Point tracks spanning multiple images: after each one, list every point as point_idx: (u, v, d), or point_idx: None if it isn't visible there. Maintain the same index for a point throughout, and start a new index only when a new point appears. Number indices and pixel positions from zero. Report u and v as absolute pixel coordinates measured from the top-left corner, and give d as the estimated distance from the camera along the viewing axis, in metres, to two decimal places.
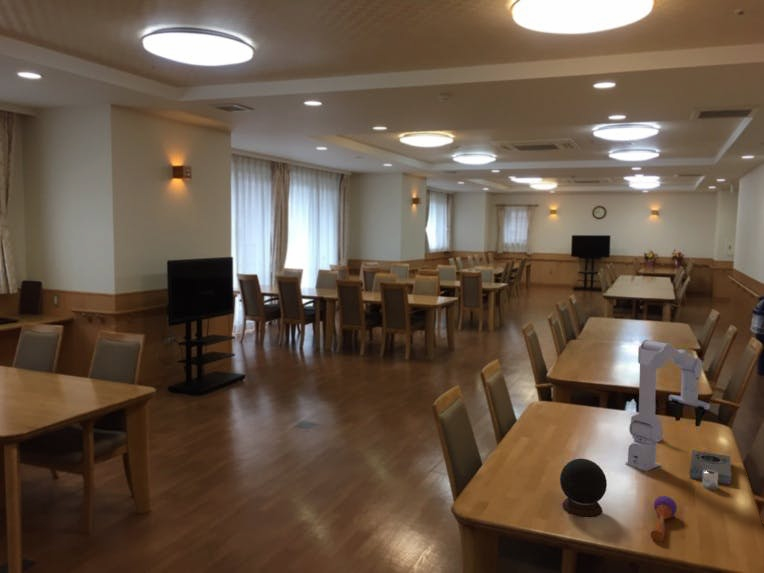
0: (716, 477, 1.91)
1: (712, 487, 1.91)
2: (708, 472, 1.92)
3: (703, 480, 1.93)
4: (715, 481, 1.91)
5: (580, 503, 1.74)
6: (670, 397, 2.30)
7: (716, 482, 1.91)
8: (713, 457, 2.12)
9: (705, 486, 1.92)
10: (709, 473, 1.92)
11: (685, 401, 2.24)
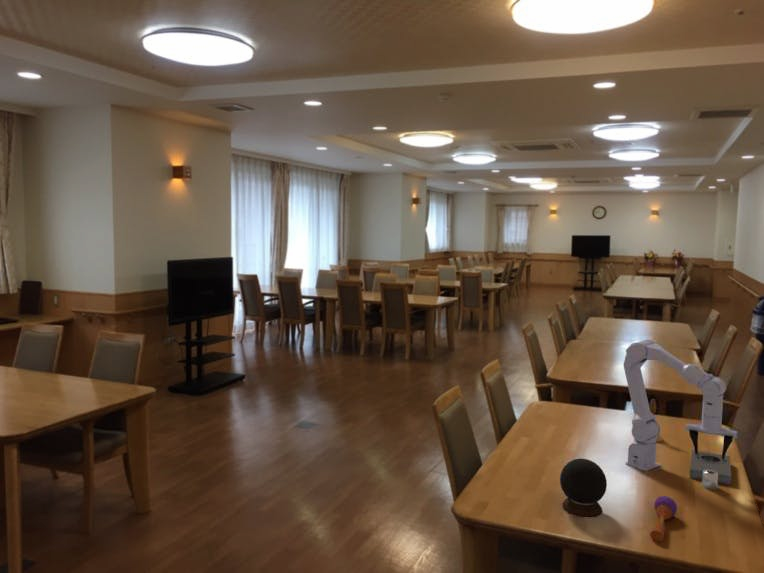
0: (716, 477, 1.91)
1: (712, 487, 1.91)
2: (708, 472, 1.92)
3: (703, 480, 1.93)
4: (715, 481, 1.91)
5: (580, 503, 1.74)
6: (688, 427, 1.97)
7: (716, 482, 1.91)
8: (713, 457, 2.12)
9: (705, 486, 1.92)
10: (709, 473, 1.92)
11: (711, 431, 1.92)
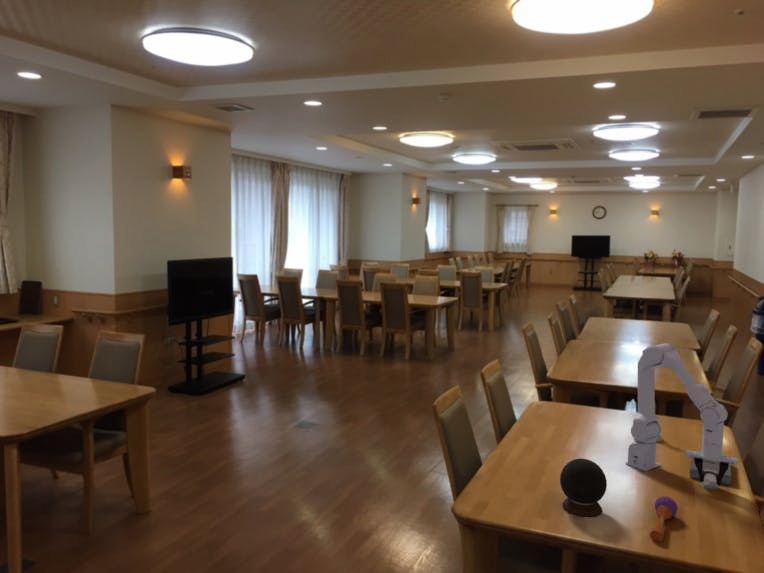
0: (716, 477, 1.91)
1: (712, 487, 1.91)
2: (708, 472, 1.92)
3: (703, 480, 1.93)
4: (715, 481, 1.91)
5: (580, 503, 1.74)
6: (688, 454, 1.95)
7: (716, 482, 1.91)
8: None
9: (705, 486, 1.92)
10: (708, 472, 1.92)
11: (712, 459, 1.90)
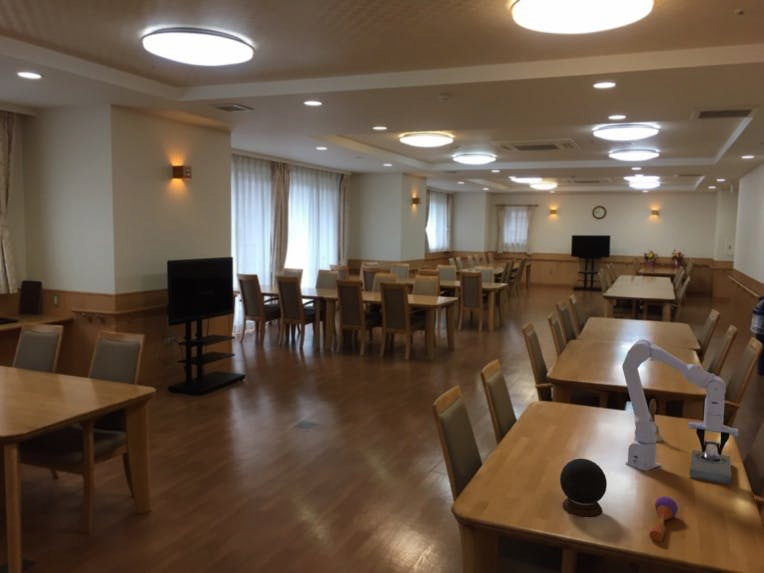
0: (717, 447, 1.98)
1: (713, 457, 1.99)
2: (710, 443, 2.00)
3: (705, 450, 2.01)
4: (716, 451, 1.98)
5: (580, 503, 1.74)
6: (690, 425, 2.02)
7: (717, 452, 1.99)
8: None
9: (707, 456, 2.00)
10: (710, 443, 2.00)
11: (713, 429, 1.97)
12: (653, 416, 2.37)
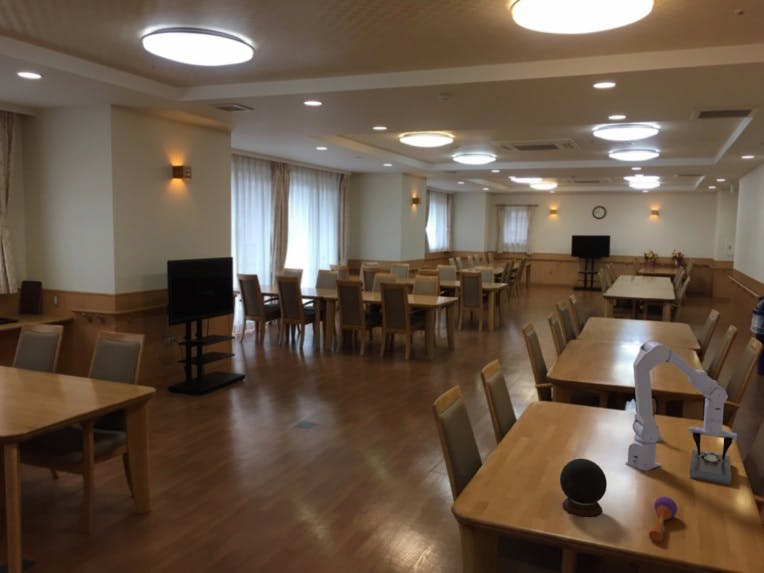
0: (716, 458, 2.08)
1: None
2: (709, 453, 2.09)
3: None
4: None
5: (580, 503, 1.74)
6: (691, 430, 2.11)
7: None
8: None
9: None
10: (709, 454, 2.09)
11: (713, 434, 2.06)
12: None
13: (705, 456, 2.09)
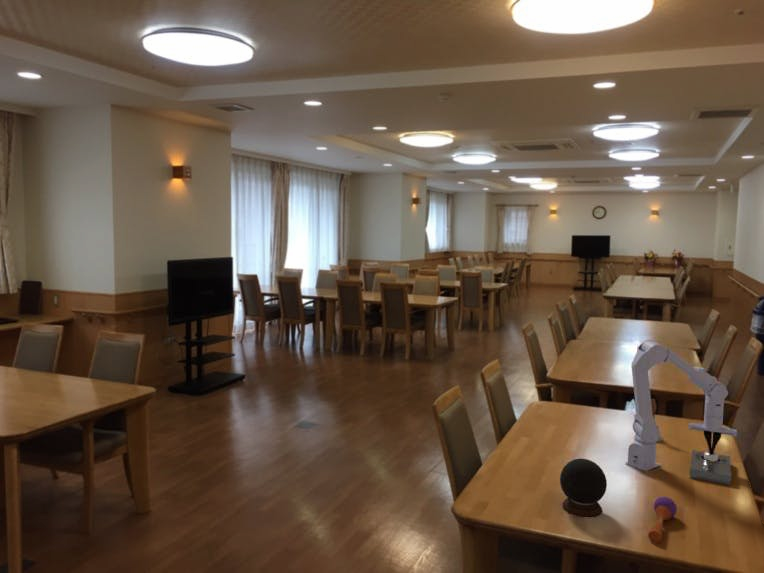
0: (716, 457, 2.08)
1: None
2: (709, 453, 2.09)
3: None
4: (715, 461, 2.07)
5: (580, 503, 1.74)
6: (691, 426, 2.11)
7: None
8: None
9: None
10: (709, 454, 2.09)
11: (713, 430, 2.06)
12: (653, 416, 2.37)
13: (705, 456, 2.09)
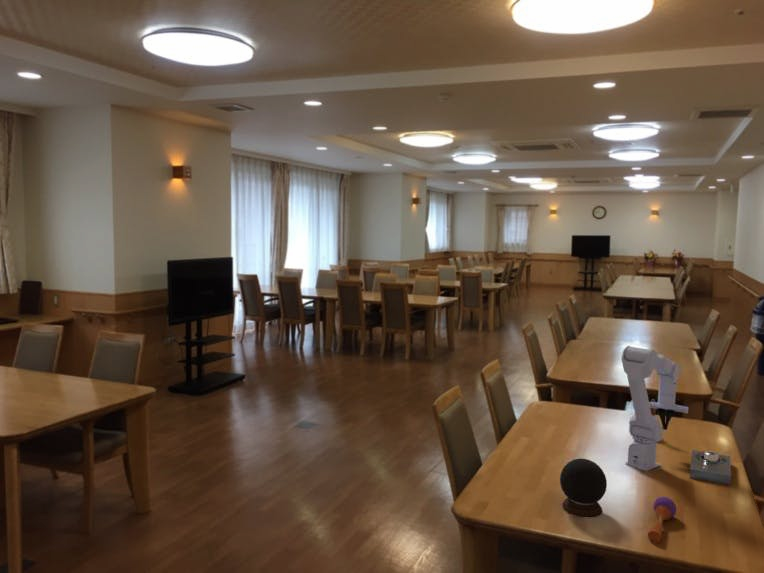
0: (716, 458, 2.07)
1: None
2: (709, 453, 2.09)
3: None
4: None
5: (580, 503, 1.74)
6: None
7: None
8: None
9: None
10: (709, 454, 2.09)
11: (666, 407, 2.18)
12: None
13: (705, 456, 2.09)
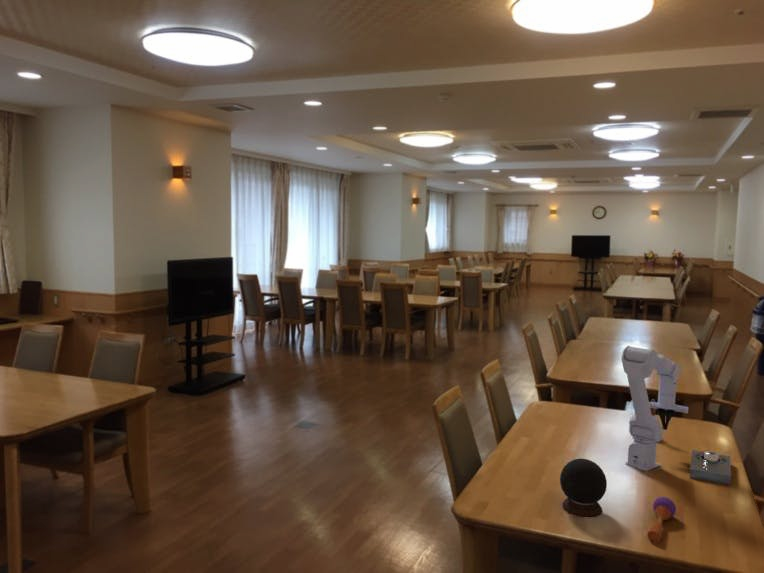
0: (716, 458, 2.07)
1: None
2: (709, 453, 2.09)
3: None
4: (715, 461, 2.07)
5: (580, 503, 1.74)
6: None
7: None
8: None
9: None
10: (709, 453, 2.09)
11: (666, 407, 2.18)
12: None
13: (705, 456, 2.09)
